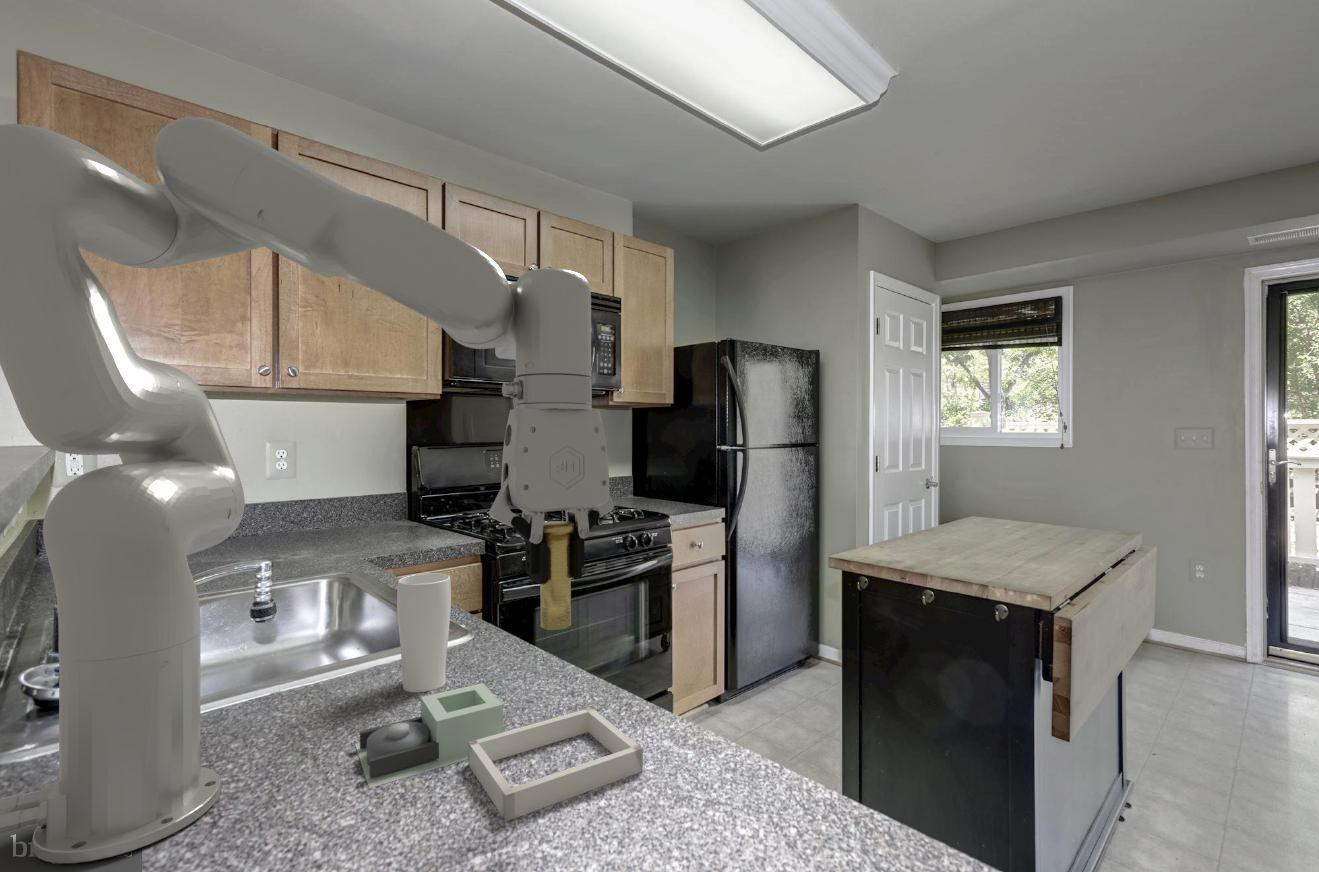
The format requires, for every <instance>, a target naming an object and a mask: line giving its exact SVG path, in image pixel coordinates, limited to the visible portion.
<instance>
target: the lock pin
mask: <svg viewBox="0 0 1319 872" xmlns="http://www.w3.org/2000/svg"><path fill="white" fill-rule="evenodd" d="M573 532H574V523H573V522H566V520H565V521H562V520H561V521H560V520H559V521H558V520H557V521H556V520H555V521H544V524H543V535H542V536H543V542H544V543H546V544H547V546H548V582H546V584H541V585H540V584H539V586H540V587H539V588H540V589H539V590H540V592H539V593H540V595H539V596H540V627H541V628H542V629H543V630H547V631H559V630H560V631H561V630H565V629H568V628H570V627H571V626H572V603H571V602H572V598H571V597H572V591H571V590H572V587H571V584H572V583H571V582H572V581H571V578H572V577H571V565H570V533H573Z"/></svg>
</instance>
